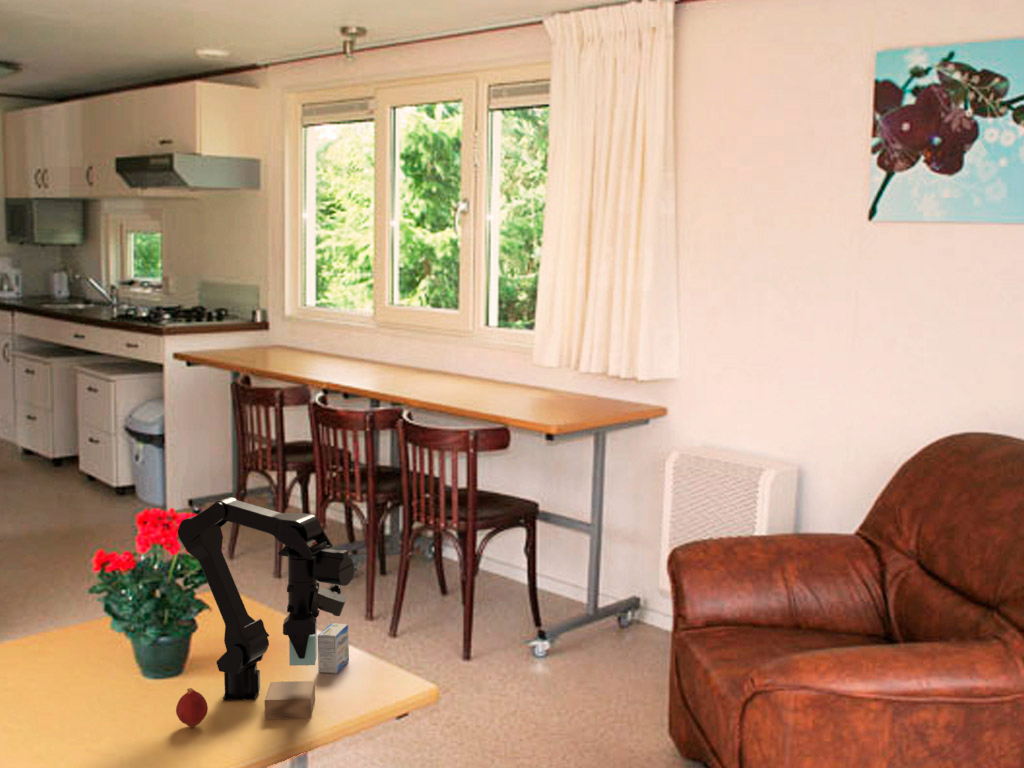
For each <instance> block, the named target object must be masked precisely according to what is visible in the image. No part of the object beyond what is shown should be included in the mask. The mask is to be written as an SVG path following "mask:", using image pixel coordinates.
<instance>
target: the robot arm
mask: <svg viewBox="0 0 1024 768" xmlns="http://www.w3.org/2000/svg"><path fill="white" fill-rule="evenodd" d="M228 522H230V523H233V524H236V525H240V526H243V527H246V528H250V529H252V530H256V531H260V532H263V533H266V534H269V535H271V536H272V537H274V538H275V539H276V540H277V541H278V542H279V543H280V544H282V545H284V546H283V548H281V549H280V550H279V551H278V552H277V555H278V556H281V557H286V558H287V586H286V593H287V602H288V603H287V607H286V611H287V612H286V613H288V615H287V616H286V617H285V618H284V619H283V620H284V621H283V624H282V635H284V636H287V637H288V639H290V641H291V643H292V645H293V647H294V649H295V651H296V653H297V655H298V657H299V659H304V658H305V654H306V649H307V643H308V638H309V636H310V635H313V634H315V633H316V628H317V627H318V626H317V623H318V622H317V621H318V620H317V618H318V616H319V615H320V611H323V612H326V613H329V614H332V615H333V616H335V617H340V616H342V615H341V614H342V613H343V609H344V608H345V607H344V606H345V605H346V600H347V596H346V595H345V593H342V589H341V586H342V587H343V586H344V587H346V586H348V585H349V584H350V583H351V581H352V579H353V577H354V572H355V564H354V563H353V560H352V557H350V556H349V551H348V550H346V549H340V550H338V549H332V548H333V544H332V542H331V541H330V539H329V537H328V536H327V534H326V533H325V531H324V529H323V527H322V525H321V523H320V520H319V518H318V517H317V516H316V515H314V514H311V513H302V512H291V513H290V512H288V513H284V512H279V511H275V510H272V509H269V508H265V507H262V506H258V505H254V504H252V503H248V502H244V501H242V500H238V499H237V498H236V497H231V496H229V497H226V498H223V499H220V500H217V501H214V503H213V504H212V505H210V506H209V507H207V508H206V509H205V510H203V511H202V512H200V513H198V514H197V515H194V516H190V517H187V518H185V519H183V520H182V521H181V522H180V524H179V526H178V529H177V536H178V538H179V540H180V542H181V544H182V545H183V547H184V549H185V551H186V552H187V553H188V554H190V555H191V556H192V557H193V558H195V559H196V560H197V561H198V562H199V565H200V567H201V569H202V573H203V575H204V577H205V579H206V582H207V584H208V587H209V588H210V589H209V590H210V591H211V594H212V596H213V599H214V602H215V603H216V606H217V608H218V611H219V614H220V615H221V617H222V620H223V623H224V625H225V626H224V627H225V628H224V636H223V637H224V638H223V641H224V646H225V648H226V651H225V652H224V653H223V654H222V655H221V656H220V657H219V659H217V660H216V666H217V669H218V671H219V672H222V673H224V674H223V677H224V679H223V680H224V694H223V696H222V700H223V701H247V700H248V701H249V700H250V701H253V700H255V699H256V698H257V695H258V694H259V692H260V691H261V690H260V689H261V670H260V669H258V662H261V661H262V660H263V657H264V655H265V654H266V653H267V651H268V648H269V647H270V642H269V641H270V640H269V637H270V634H269V633H268V632H267V630H266V627H265V624H264V621H263V620H262V618H259V619H257V620H255V619H254V618H253V617H252V616H250V615H249V613H248V611H247V609H246V606H245V603H244V601H243V599H242V597H241V594H240V592H239V589H238V587H237V584H236V582H235V579H234V578H233V576H232V573H231V571H230V568H229V566H228V564H227V561H226V559H225V556H224V553H223V540H224V539H223V537H224V536H223V530H222V527H223V526H225V525H226V524H227V523H228ZM314 542H316V543H314ZM312 543H314V544H313V545H311V544H312ZM309 545H310V546H309ZM320 583H324V584H329V585H330V584H331V585H330V586H329V587H325V588H324V587H320Z"/></svg>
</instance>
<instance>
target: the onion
mask: <svg viewBox="0 0 1024 768" xmlns="http://www.w3.org/2000/svg"><path fill="white" fill-rule="evenodd" d="M208 709H209V705H208V703H207V700H206V698H205V697H204V695H203V694H201V693H200V692H199V691H196V689H193V688H192V687H189V688H187V689H186V692H185V693H184V694H183V695H182V696H181V697H180V698H179V699H178V702H177V705H176V709H175V713H176V716H177V717H178V719H179V721H180V722H181V723H183V724H184V725H186V726H188V727H189V728H195V727H196V726H199V724H200V723H202V722H203V720H205V718H206V716H207V714H208Z"/></svg>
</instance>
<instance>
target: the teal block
mask: <svg viewBox="0 0 1024 768" xmlns="http://www.w3.org/2000/svg"><path fill="white" fill-rule="evenodd" d="M317 630H318V629H317V628H316V633H315V634H313V635H310V636H309V638H308V643H307V649H306V654H305V658H304V659H299V657H298V655H297V653H296V651H295V649H294V647H293V645H292V643H291V641H290V639H289V638H288V639H289V641H288V643H289V646H288V649H289V650H288V651H289V666H290V667H291V666H293V667H294V666H295V667H296V666H316V660H317V657H318V635H317Z"/></svg>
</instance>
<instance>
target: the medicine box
mask: <svg viewBox="0 0 1024 768" xmlns="http://www.w3.org/2000/svg"><path fill="white" fill-rule="evenodd" d="M349 641H350V639H349V625H348V624H345V623H334V622H333V623H330V624H329V625H327V627H326V628H324V629H323V630H322V631H321V632H319V634H318V635H317V663H318V664H317V666H318V667H317V668H318V673H322V674H323V673H324V674H334V675H336V674H337V675H338V673H339V672H340V671H341V670H342V669H343V668H344V666H345V665H346V664H347V663H348V662H349V660H350V649H349V648H350V646H349V644H350V643H349ZM341 668H342V669H341Z"/></svg>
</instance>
